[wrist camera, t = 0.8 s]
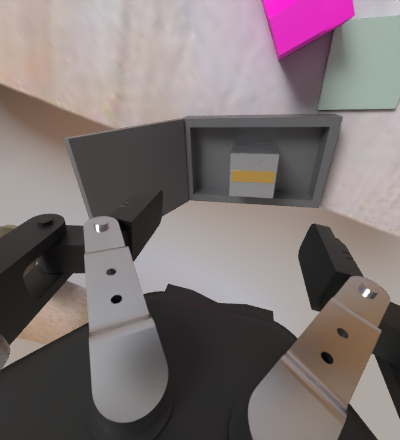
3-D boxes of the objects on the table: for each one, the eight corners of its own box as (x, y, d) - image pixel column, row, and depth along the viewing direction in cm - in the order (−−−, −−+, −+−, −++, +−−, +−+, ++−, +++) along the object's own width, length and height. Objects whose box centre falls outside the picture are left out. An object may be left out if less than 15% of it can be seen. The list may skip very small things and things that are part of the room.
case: (334, 113, 27) (417, 141, 13) (313, 198, 32) (356, 278, 19) (143, 116, 31) (60, 138, 18) (154, 190, 37) (96, 249, 23)
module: (274, 140, 29) (279, 154, 23) (269, 177, 32) (273, 198, 25) (235, 140, 30) (230, 153, 24) (233, 176, 32) (229, 196, 26)
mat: (427, 13, 21) (430, 12, 21) (393, 108, 25) (395, 108, 25) (335, 21, 23) (336, 20, 22) (317, 109, 27) (317, 109, 26)
